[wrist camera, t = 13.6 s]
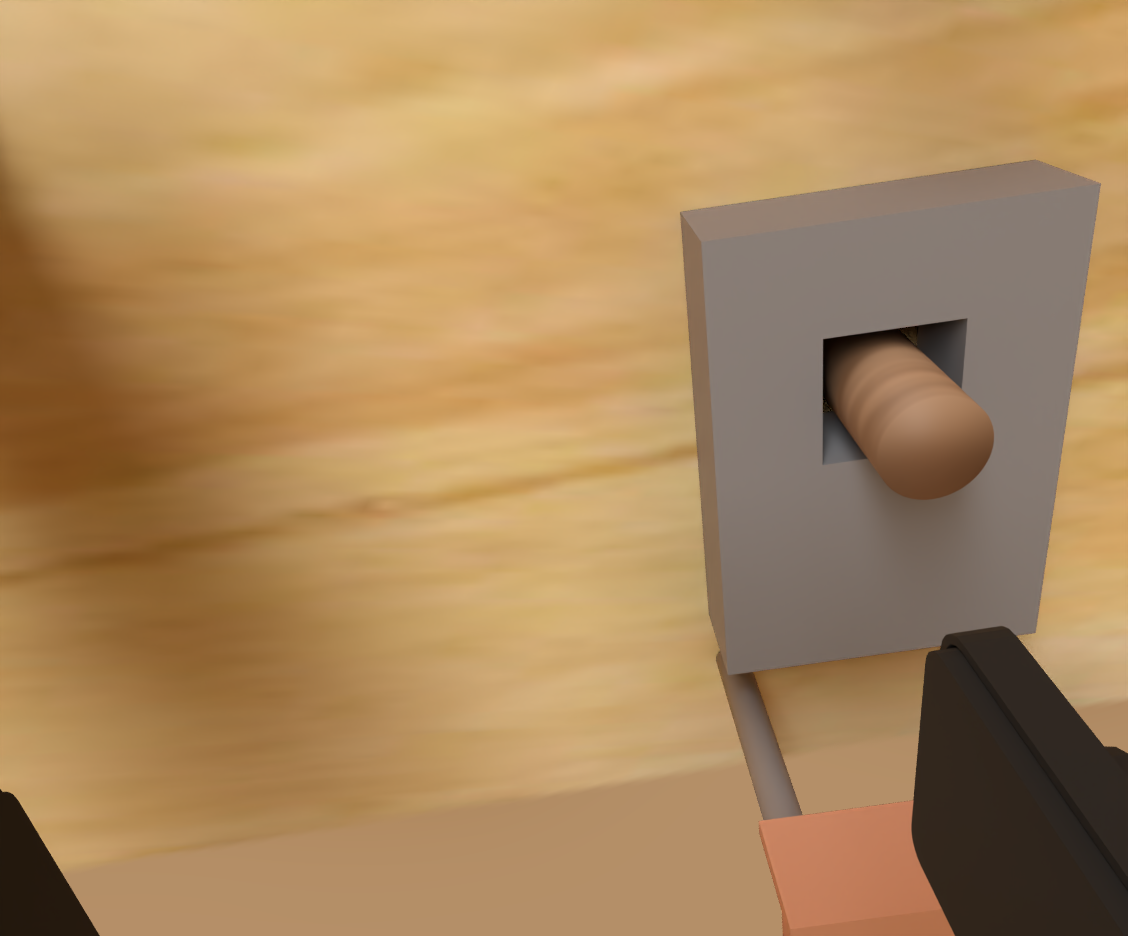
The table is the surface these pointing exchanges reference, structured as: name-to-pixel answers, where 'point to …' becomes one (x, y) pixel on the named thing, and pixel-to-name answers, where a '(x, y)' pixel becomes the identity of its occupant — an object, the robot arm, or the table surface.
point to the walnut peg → (905, 414)
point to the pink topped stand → (831, 846)
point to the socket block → (825, 447)
